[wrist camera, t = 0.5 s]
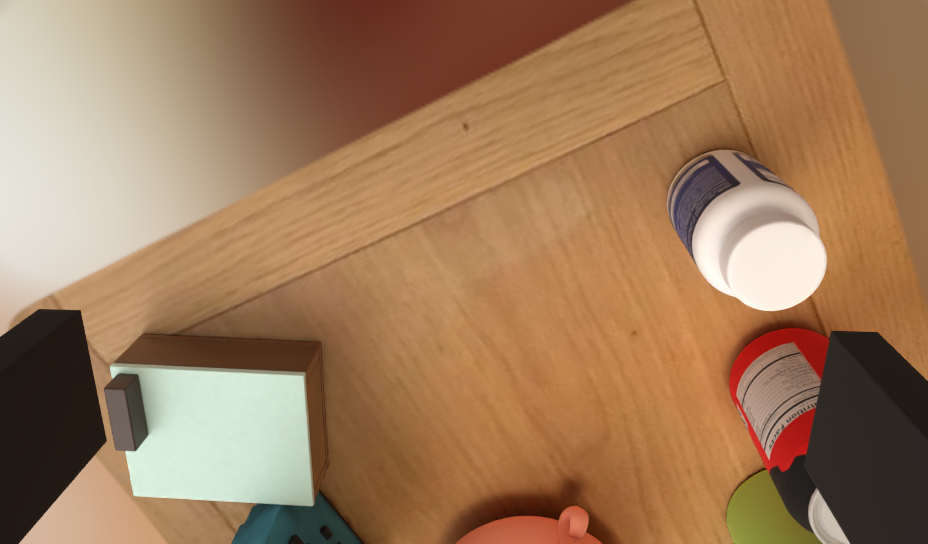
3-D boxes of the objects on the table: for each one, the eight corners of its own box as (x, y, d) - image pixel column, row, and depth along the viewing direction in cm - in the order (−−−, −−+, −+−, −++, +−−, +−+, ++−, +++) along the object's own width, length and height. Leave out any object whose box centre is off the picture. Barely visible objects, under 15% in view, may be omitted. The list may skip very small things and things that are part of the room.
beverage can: (752, 433, 45) (829, 587, 34) (705, 351, 43) (771, 487, 32) (855, 387, 43) (972, 533, 32) (811, 300, 42) (919, 424, 30)
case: (141, 333, 45) (113, 362, 42) (321, 341, 44) (305, 371, 41) (161, 456, 48) (136, 491, 45) (328, 465, 48) (315, 502, 45)
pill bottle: (669, 253, 41) (712, 335, 32) (661, 156, 39) (704, 215, 30) (772, 238, 40) (845, 318, 31) (769, 139, 38) (846, 194, 29)
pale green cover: (112, 362, 42) (94, 381, 40) (305, 372, 41) (295, 391, 39) (136, 491, 45) (120, 514, 43) (315, 502, 45) (306, 525, 43)
